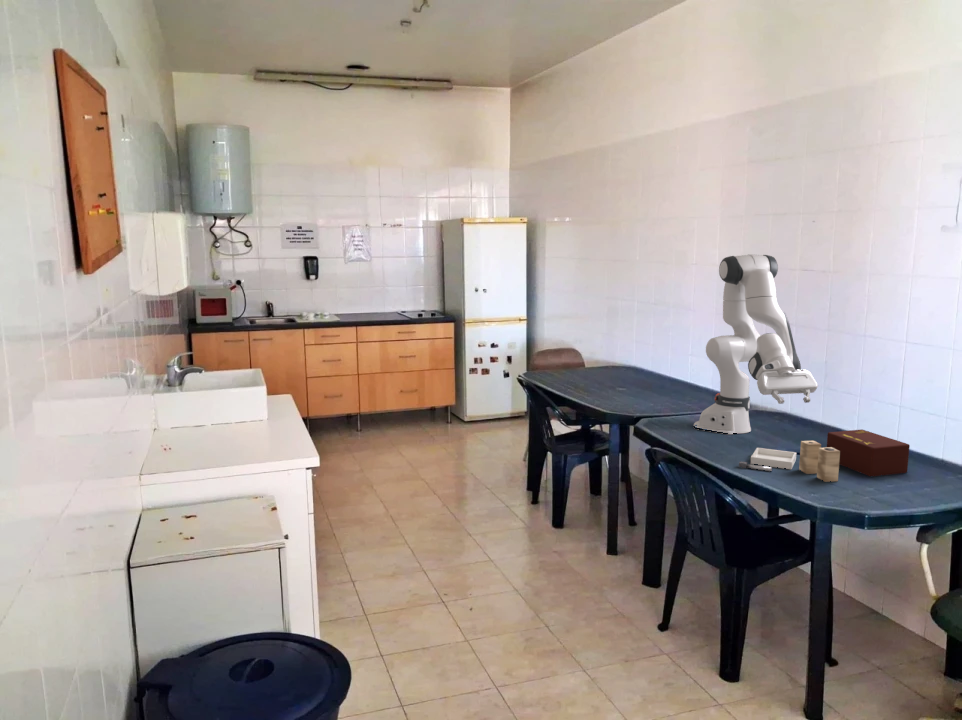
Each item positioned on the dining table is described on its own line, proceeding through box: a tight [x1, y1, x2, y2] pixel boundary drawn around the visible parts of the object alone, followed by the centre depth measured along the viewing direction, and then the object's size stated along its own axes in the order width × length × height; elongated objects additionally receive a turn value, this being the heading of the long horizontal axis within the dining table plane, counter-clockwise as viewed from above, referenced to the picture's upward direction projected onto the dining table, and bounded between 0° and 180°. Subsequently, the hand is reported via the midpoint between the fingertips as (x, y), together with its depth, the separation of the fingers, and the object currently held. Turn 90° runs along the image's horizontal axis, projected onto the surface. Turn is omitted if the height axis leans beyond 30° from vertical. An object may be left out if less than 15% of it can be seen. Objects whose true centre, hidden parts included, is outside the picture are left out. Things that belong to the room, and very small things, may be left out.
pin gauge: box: [738, 461, 773, 472], centre depth 248 cm, size 10×2×2 cm, turn 61°
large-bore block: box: [816, 446, 840, 483], centre depth 236 cm, size 4×4×10 cm
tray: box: [750, 447, 797, 470], centre depth 256 cm, size 13×13×2 cm
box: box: [826, 429, 910, 477], centre depth 251 cm, size 21×16×10 cm
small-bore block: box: [798, 440, 822, 475], centre depth 244 cm, size 4×4×10 cm
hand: (794, 402), depth 253 cm, fingers open, 8 cm apart
